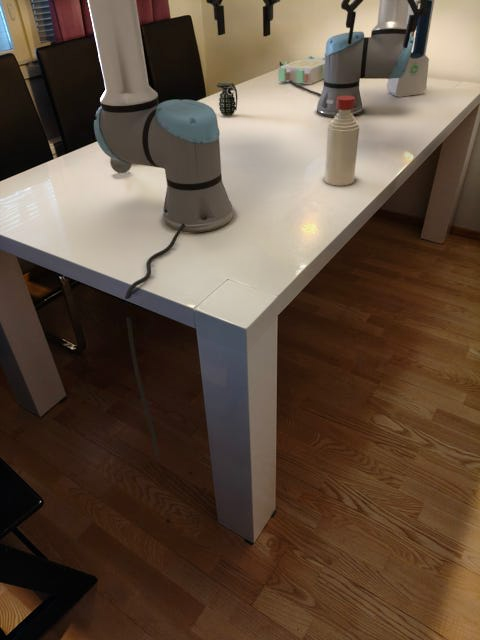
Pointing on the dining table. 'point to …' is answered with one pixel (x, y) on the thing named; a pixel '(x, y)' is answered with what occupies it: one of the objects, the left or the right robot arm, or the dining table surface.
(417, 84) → the electronic device
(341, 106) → the cap
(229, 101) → the grenade
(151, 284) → the dining table surface
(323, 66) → the decorative block
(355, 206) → the dining table surface
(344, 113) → the bottle
